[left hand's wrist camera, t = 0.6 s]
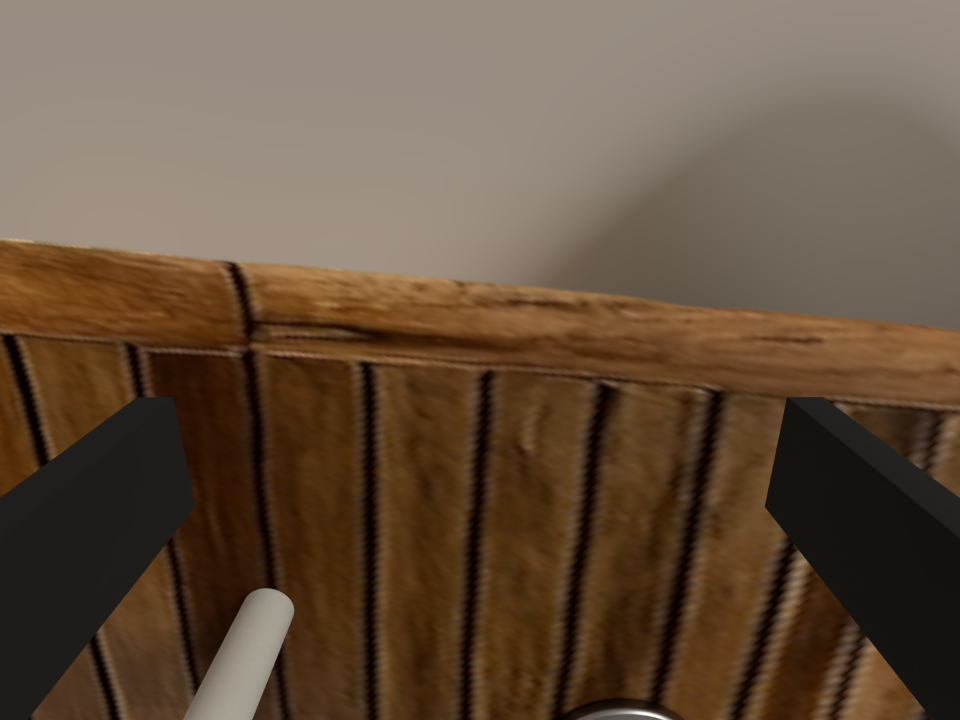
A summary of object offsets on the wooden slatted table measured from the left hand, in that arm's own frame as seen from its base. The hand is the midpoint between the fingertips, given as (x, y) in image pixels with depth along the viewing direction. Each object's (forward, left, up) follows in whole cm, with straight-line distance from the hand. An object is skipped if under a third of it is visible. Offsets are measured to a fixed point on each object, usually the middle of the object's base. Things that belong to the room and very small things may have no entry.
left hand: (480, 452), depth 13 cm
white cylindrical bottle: (-31, +18, -28) cm, 46 cm away
